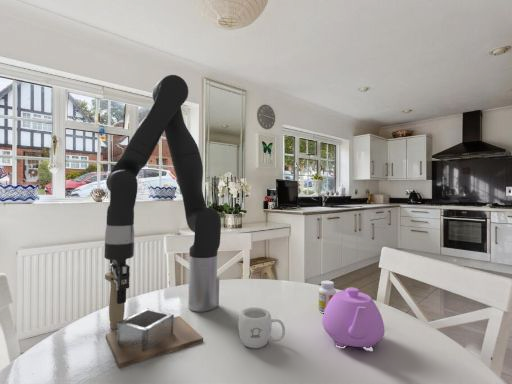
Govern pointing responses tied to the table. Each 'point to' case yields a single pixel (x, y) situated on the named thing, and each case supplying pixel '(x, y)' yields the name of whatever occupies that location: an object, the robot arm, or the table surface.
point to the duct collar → (145, 329)
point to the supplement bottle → (325, 294)
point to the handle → (114, 303)
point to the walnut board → (177, 340)
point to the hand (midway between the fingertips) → (117, 298)
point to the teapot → (353, 319)
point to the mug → (257, 327)
